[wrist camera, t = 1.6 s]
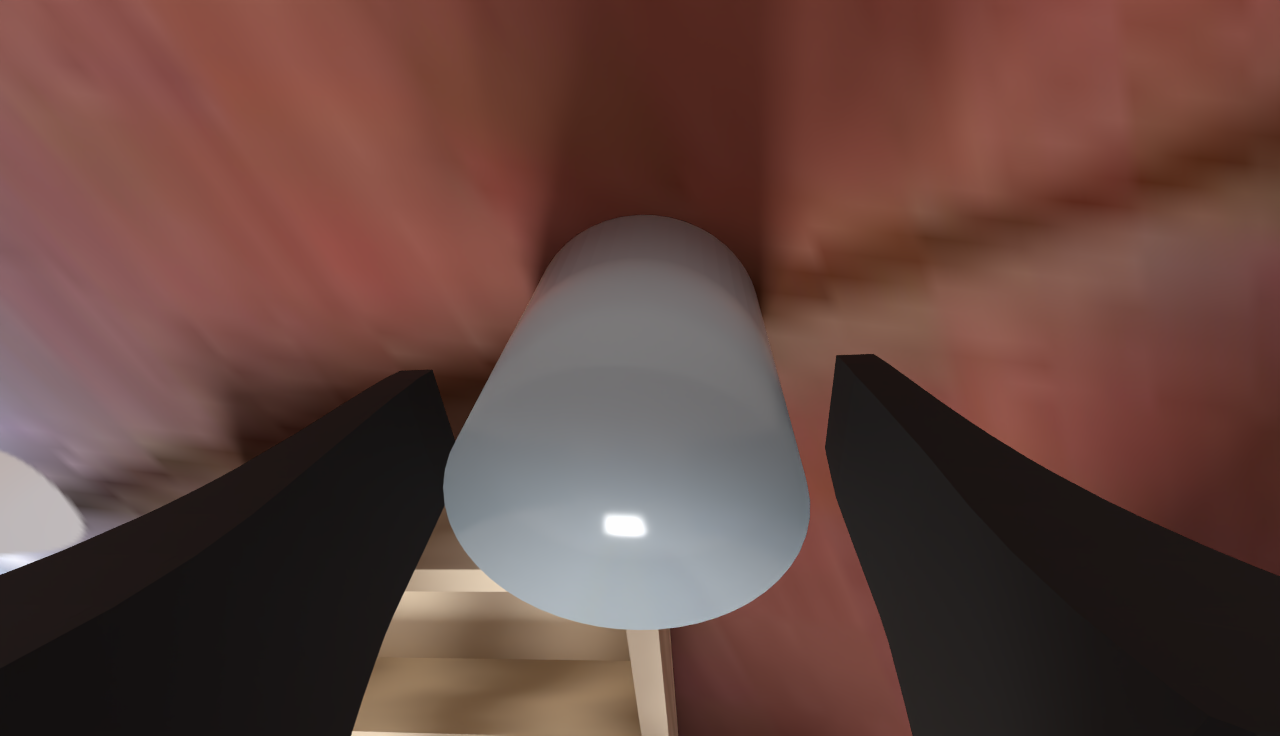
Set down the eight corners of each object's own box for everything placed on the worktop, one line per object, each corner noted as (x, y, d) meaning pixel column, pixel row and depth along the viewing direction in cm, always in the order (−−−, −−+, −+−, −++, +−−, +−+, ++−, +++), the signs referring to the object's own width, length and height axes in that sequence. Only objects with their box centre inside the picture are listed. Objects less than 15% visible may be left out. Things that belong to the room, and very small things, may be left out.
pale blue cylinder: (763, 207, 12) (827, 358, 7) (755, 413, 14) (796, 631, 9) (515, 222, 12) (396, 372, 7) (553, 417, 15) (487, 628, 10)
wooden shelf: (657, 472, 16) (652, 569, 13) (680, 758, 24) (679, 853, 21) (247, 479, 17) (163, 569, 14) (407, 750, 25) (374, 839, 22)
